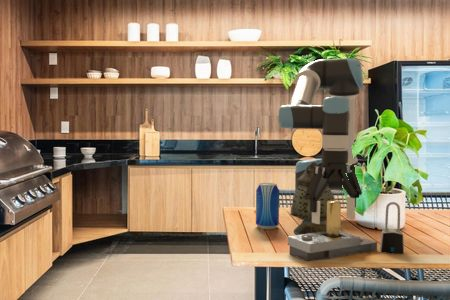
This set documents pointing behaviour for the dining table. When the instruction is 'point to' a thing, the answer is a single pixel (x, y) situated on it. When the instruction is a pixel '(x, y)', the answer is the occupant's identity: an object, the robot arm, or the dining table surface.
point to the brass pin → (333, 219)
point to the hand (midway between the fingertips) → (333, 221)
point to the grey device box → (328, 245)
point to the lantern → (303, 204)
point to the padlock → (392, 236)
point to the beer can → (267, 206)
